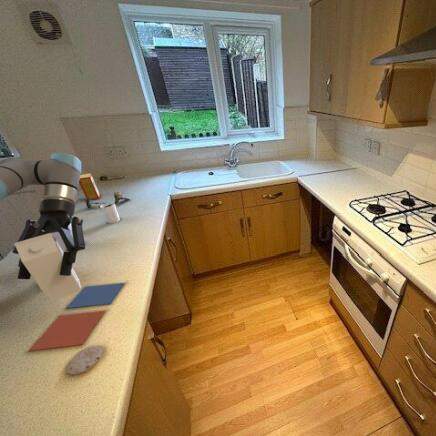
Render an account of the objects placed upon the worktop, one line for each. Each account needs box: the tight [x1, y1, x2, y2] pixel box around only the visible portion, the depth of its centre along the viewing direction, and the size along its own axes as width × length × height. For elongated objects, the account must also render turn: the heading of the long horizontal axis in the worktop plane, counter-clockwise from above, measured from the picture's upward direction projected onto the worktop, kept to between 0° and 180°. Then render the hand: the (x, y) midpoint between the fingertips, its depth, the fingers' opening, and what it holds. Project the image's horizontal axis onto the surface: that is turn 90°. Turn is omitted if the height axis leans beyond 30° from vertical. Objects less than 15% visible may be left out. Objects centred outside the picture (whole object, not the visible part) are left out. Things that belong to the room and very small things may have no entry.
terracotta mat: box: [28, 310, 106, 352], centre depth 73 cm, size 14×12×1 cm
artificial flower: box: [85, 190, 130, 209], centre depth 155 cm, size 9×22×10 cm, turn 113°
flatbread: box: [65, 345, 104, 376], centre depth 64 cm, size 8×8×1 cm
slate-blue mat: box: [65, 282, 126, 310], centre depth 85 cm, size 14×10×1 cm
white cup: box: [99, 202, 121, 224], centre depth 133 cm, size 7×7×10 cm
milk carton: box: [13, 233, 83, 304], centre depth 68 cm, size 7×7×19 cm
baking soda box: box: [79, 173, 101, 201], centre depth 163 cm, size 10×6×16 cm
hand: (44, 277), depth 66 cm, fingers closed on milk carton, 10 cm apart
